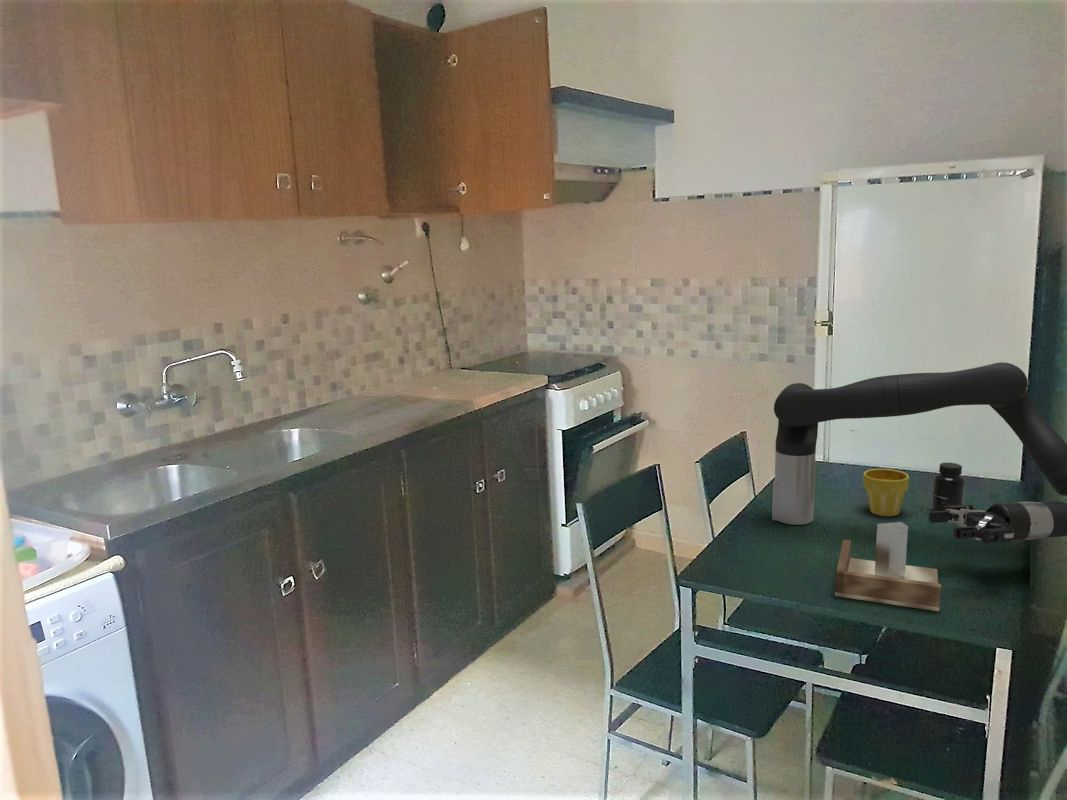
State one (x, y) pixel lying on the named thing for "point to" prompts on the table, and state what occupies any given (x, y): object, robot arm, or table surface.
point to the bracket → (891, 550)
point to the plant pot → (885, 490)
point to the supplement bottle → (948, 487)
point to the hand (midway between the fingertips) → (941, 525)
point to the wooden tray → (886, 583)
